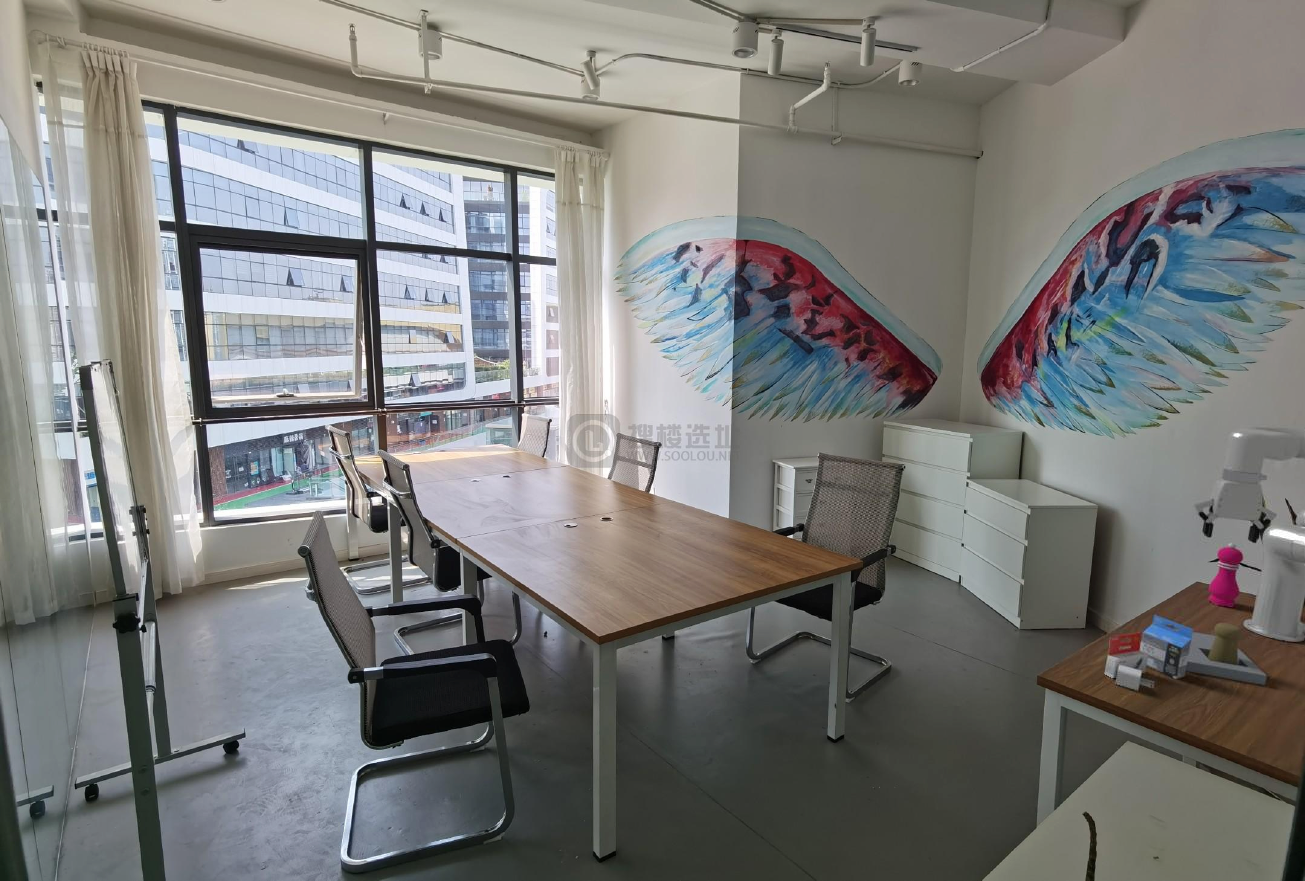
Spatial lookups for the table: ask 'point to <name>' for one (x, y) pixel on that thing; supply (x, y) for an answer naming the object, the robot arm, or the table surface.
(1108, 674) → the ink cartridge box
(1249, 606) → the table surface
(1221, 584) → the pepper mill
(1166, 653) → the blue and white box
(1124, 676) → the usb wall charger
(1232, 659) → the cork
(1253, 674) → the socket board
